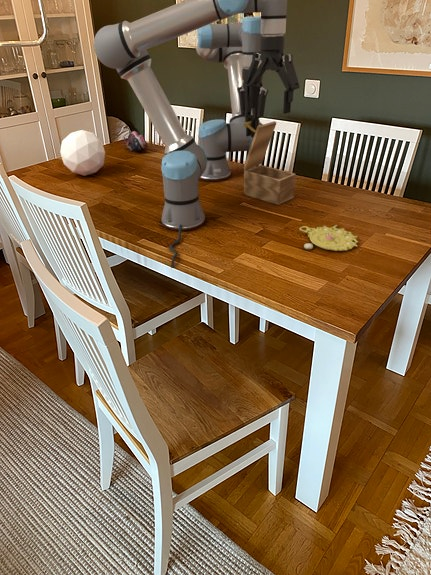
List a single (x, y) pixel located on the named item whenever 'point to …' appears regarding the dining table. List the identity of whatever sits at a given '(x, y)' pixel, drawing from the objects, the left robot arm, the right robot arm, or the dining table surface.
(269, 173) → the chest
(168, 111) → the left robot arm
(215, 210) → the dining table surface
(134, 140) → the athletic shoe
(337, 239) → the decorative object
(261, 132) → the lid
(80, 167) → the sphere
